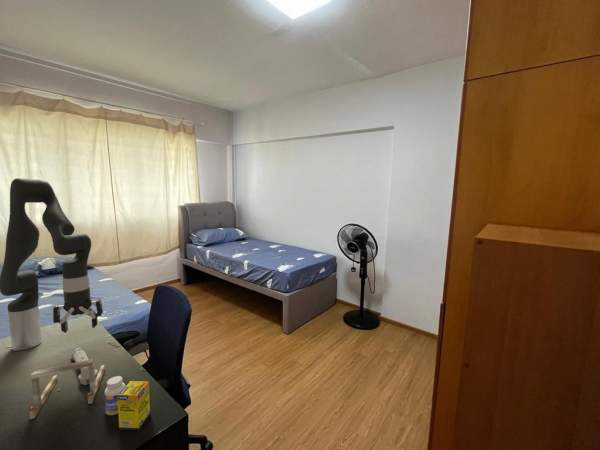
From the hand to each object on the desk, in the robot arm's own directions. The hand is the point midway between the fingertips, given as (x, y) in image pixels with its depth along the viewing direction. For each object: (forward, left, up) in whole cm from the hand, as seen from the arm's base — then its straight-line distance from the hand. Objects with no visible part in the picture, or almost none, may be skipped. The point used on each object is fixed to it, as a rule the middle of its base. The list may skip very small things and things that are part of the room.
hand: (80, 329), depth 101 cm
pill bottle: (+28, +15, -16) cm, 36 cm away
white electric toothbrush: (0, 0, -17) cm, 17 cm away
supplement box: (+36, +21, -16) cm, 45 cm away
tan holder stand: (+13, 0, -16) cm, 21 cm away
